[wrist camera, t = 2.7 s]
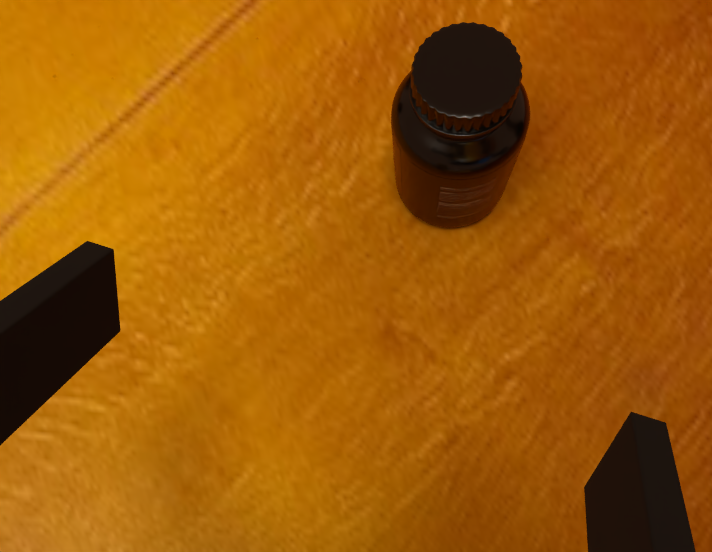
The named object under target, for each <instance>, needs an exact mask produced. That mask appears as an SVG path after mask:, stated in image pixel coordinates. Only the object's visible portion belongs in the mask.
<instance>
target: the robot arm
mask: <svg viewBox="0 0 712 552" xmlns="http://www.w3.org/2000/svg"><path fill="white" fill-rule="evenodd" d="M119 332H120V321H119V309H118V297H117V285H116V273H115V262H114V250H113V249H111V248H108V247H105V246H102V245H98V244H95V243H92V242H89V241H87V242H85V243H84V244H82V245H81V246H79V247H78V248H76V249H75V250H74V251H72V252H71V253H69V254H68V255H66V256H65V257H63V258H62V259H60V260H59V261H58V262H56V263H55V264H53V265H52V266H50V267H49V268H47V269H46V270H45V271H43V272H42V273H40V274H39V275H37V276H36V277H34V278H33V279H31V280H30V281H29V282H27V283H26V284H24V285H23V286H21V287H20V288H18V289H17V290H15V291H14V292H13V293H11V294H10V295H8V296H7V297H5V298H4V299H2V300H1V301H0V445H1V444H2V443H3V442H4V441H5V440H6V439H7V438H8V437H9V436H10V435H12V434H13V433H14V432H15V431H16V430H17V429H18V428H19V427H20V426H21V425H22V424H23V423H24V422H25V421H26V420H27V419H28V418H29V417H30V416H31V415H33V414H34V413H35V412H36V411H37V410H38V409H39V408H40V407H41V406H42V405H43V404H44V403H45V402H46V401H47V400H48V399H49V398H50V397H51V396H52V395H54V394H55V393H56V392H57V391H58V390H59V389H60V388H61V387H62V386H63V385H64V384H65V383H66V382H67V381H68V380H69V379H70V378H71V377H72V376H74V375H75V374H76V373H77V372H78V371H79V370H80V369H81V368H82V367H83V366H84V365H85V364H86V363H87V362H88V361H89V360H90V359H91V358H92V357H93V356H95V355H96V354H97V353H98V352H99V351H100V350H101V349H102V348H103V347H104V346H105V345H106V344H107V343H108V342H109V341H110V340H111V339H112V338H113V337H115V336H116V335H117V334H118V333H119ZM584 489H585V506H586V523H587V539H588V552H696V551H695V547H694V543H693V538H692V534H691V530H690V525H689V521H688V517H687V512H686V508H685V504H684V499H683V495H682V491H681V486H680V482H679V478H678V473H677V469H676V465H675V460H674V456H673V452H672V447H671V443H670V439H669V434H668V430H667V426H666V423H665V422H662V421H658V420H655V419H652V418H649V417H646V416H642V415H639V414H636V413H633V412H631V413H630V414H629V416H628V418H627V419H626V421H625V422H624V424H623V426H622V427H621V429H620V430H619V432H618V434H617V435H616V437H615V439H614V440H613V442H612V443H611V445H610V447H609V448H608V450H607V451H606V453H605V455H604V456H603V458H602V459H601V461H600V463H599V464H598V466H597V468H596V469H595V471H594V472H593V474H592V476H591V477H590V479H589V480H588V482H587V484H586V485H585V487H584Z"/></svg>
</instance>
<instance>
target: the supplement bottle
mask: <svg viewBox="0 0 712 552" xmlns="http://www.w3.org/2000/svg"><path fill="white" fill-rule="evenodd" d="M521 70H522V64H521V62H520V55H519V54H518V53H517V52H516V47H515V46H514V45H512V43H511V40H510V39H508V38H507V37H505V36H504V34H503V33H502V32H499V31H497V30H496V29H495V28H493V27H488V26H486V25H484V24H476V23H474V22H473V23H464V22H462V23H460V24H452V25H450V26H448V27H443V28H441V29H440V30H439V31H436V32H434V33H433V34H432V35H431V37H428V38H426V39H425V42H424V43H423V44H422V45H421V46H419V50H418V52H417V53H416V54H415V56H414V62H413V64H412V70H411V71H410V72H409V73H408V75H407V76H406V77H405V78H404V80H403V81H402V82H401V84H400V86H399V87H398V90H397V92H396V94H395V97H394V100H393V104H392V112H391V125H392V139H393V153H394V166H395V178H396V185H397V189H398V192H399V195H400V197H401V199H402V201H403V203H404V204H405V206H406V207H407V208H408V209H409V210H410V211H411V212H412V213H413V214H414V215H415V216H416V217H418V218H419V219H421V220H422V221H424V222H426V223H429V224H431V225H435V226H439V227H446V228H455V227H462V226H466V225H469V224H472V223H474V222H476V221H478V220H480V219H482V218H483V217H485V216H486V215H487V214H488V213H489V212H491V211H492V209H493V208H494V207H495V206H496V204H497V203H498V202H499V200H500V198H501V196H502V194H503V192H504V190H505V187H506V185H507V182H508V180H509V177H510V175H511V172H512V170H513V167H514V165H515V162H516V160H517V157H518V155H519V152H520V150H521V147H522V145H523V142H524V140H525V137H526V134H527V130H528V126H529V121H530V106H529V100H528V96H527V93H526V91H525V88H524V86H523V85H522V83H521V79H522V73H521Z"/></svg>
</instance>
